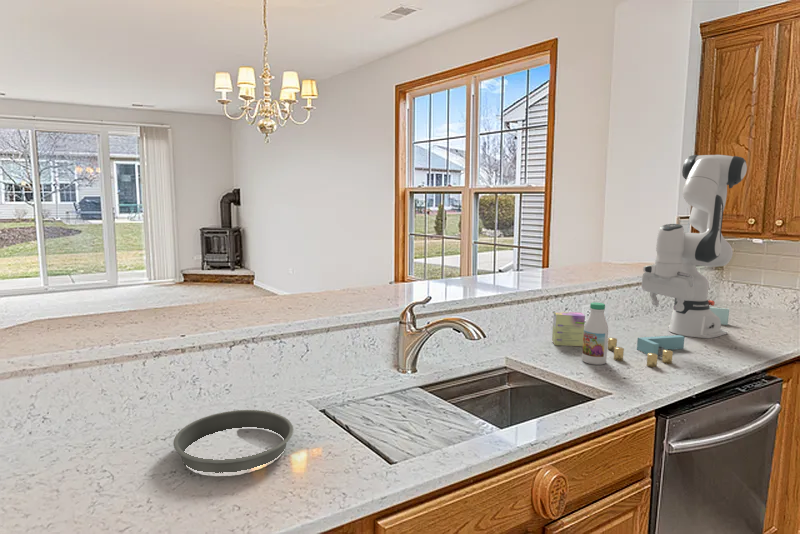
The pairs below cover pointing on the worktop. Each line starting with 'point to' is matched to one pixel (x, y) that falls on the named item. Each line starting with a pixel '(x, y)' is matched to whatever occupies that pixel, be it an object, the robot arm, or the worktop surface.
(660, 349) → the nut
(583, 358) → the milk bottle
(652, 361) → the brass spacers
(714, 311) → the l-shaped corner panel
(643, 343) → the hook tool
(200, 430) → the dark grey ring
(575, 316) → the box
